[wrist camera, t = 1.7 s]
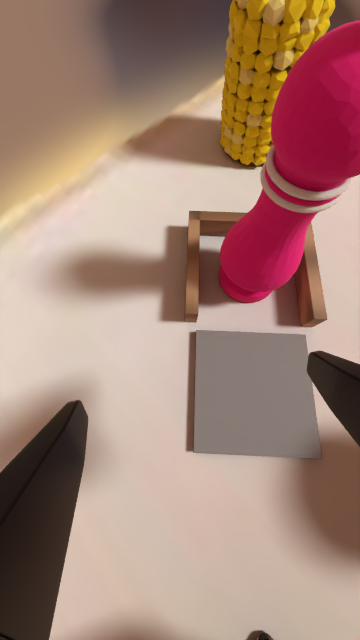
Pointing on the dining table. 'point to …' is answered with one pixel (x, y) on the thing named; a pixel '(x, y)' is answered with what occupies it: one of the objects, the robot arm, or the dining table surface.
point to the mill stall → (305, 274)
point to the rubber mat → (254, 395)
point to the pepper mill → (299, 166)
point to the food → (263, 67)
